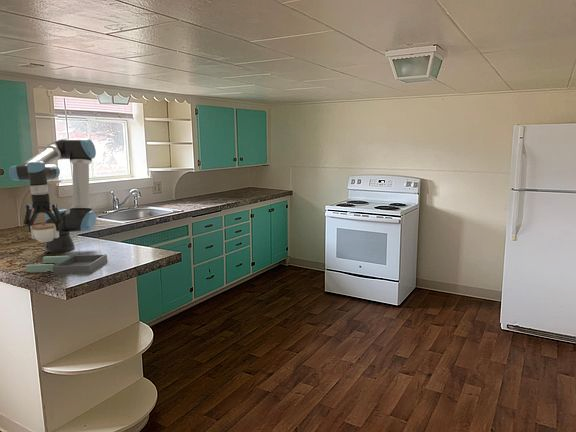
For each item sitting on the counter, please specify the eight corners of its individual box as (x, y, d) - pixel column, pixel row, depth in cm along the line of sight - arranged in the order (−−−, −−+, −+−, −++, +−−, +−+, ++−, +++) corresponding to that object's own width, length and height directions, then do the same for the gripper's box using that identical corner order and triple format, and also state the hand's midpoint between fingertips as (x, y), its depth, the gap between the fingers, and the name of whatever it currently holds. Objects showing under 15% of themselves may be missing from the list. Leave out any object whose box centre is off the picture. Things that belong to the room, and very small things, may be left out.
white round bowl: (61, 240, 221) (59, 221, 219) (38, 244, 213) (36, 225, 212) (53, 237, 228) (50, 219, 226) (30, 241, 220) (27, 222, 219)
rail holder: (26, 272, 214) (25, 265, 214) (45, 263, 231) (44, 256, 230) (53, 271, 214) (52, 264, 214) (70, 262, 231) (69, 255, 230)
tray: (53, 275, 208) (52, 266, 208) (74, 263, 229) (73, 255, 228) (90, 273, 208) (89, 265, 208) (107, 261, 229) (106, 254, 228)
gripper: (11, 195, 213) (17, 240, 217) (60, 193, 213) (65, 238, 217) (20, 193, 220) (26, 237, 224) (67, 191, 220) (72, 235, 224)
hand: (45, 238), depth 220 cm, fingers closed on white round bowl, 11 cm apart
